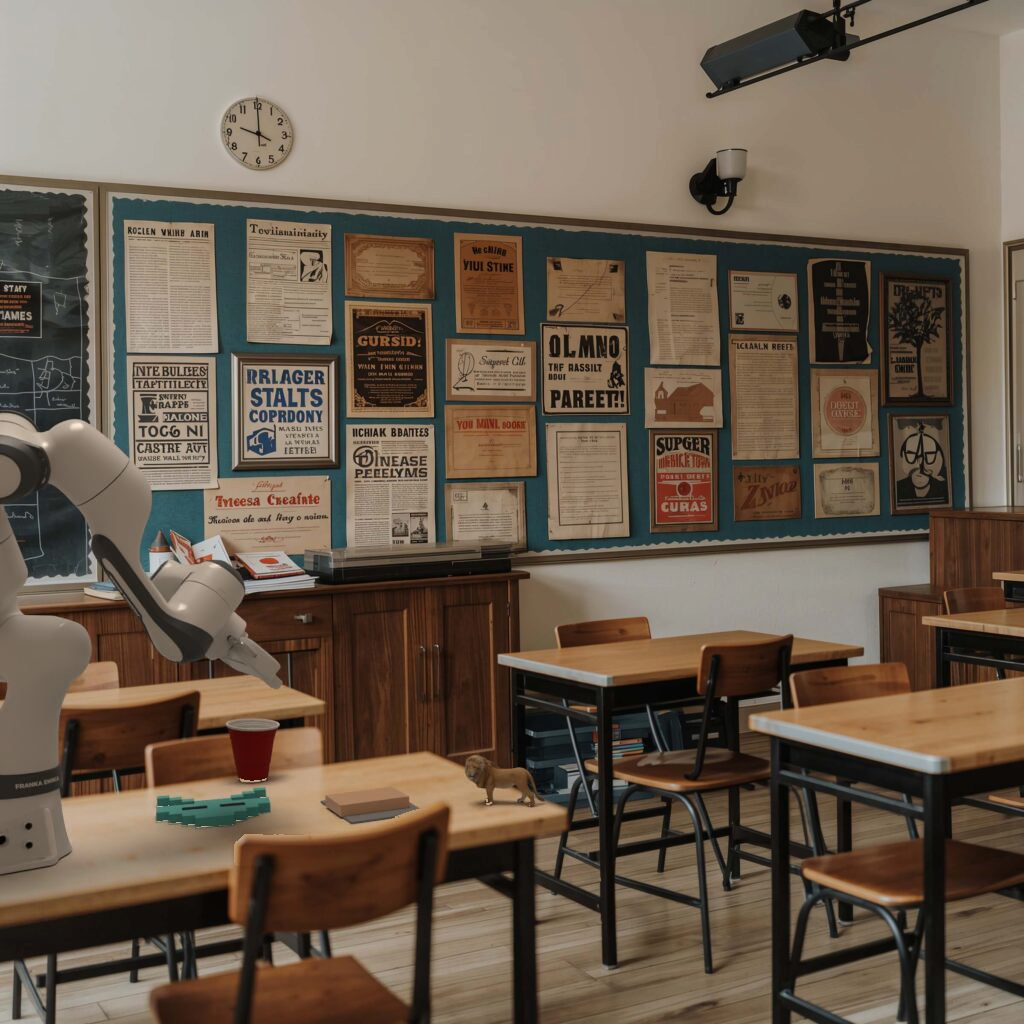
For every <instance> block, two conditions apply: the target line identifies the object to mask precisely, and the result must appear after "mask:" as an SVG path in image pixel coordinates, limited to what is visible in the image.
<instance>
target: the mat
mask: <svg viewBox="0 0 1024 1024" xmlns="http://www.w3.org/2000/svg"><path fill="white" fill-rule="evenodd" d="M320 803H321V804H322V805H324V806H325V807H326V802H325V799H324V800H320ZM419 808H420V807H418V806H417V805H415V804H413V803H411V802H410V801H409V807H408V808H400V809H393V810H386V811H379V812H372V813H364V814H357V815H350V816H343V817H341V819H343V820H345V821H346V822H348V823H349V824H350V825H355V824H361V823H368V822H375V821H383V820H388V819H387V818H391V817H395V816H398V815H401V814H403V813H406V812H409V811H412V810H416V809H419ZM391 819H392V818H391Z"/></svg>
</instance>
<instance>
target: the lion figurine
mask: <svg viewBox="0 0 1024 1024" xmlns="http://www.w3.org/2000/svg"><path fill="white" fill-rule="evenodd" d="M464 774H465V776H466V777H467V779H468V780H469V781H470V782H472V783H474V784H475V786H476V787H477V788H478V789H483V790H485V791H486V792H485V793H486V796H487V798H486V799H488V802H486V803H490V802H494V790H495V789H504V790H506V789H509V788H512V787H513V786H516V787H517V789H518V790H519V791H520V792H521V797H519V798H517V800H516V801H526V798H528V799H529V801H528V802H527V803H526V804H527V806H528V805H530V806H532V807H534V806H535V804H536V801H535V800H534V799H535V797H536V798H537V800H538V801H539V800H540V802H545V801H546V799H544V797H541V796H540V795H539V793H538V792H537V791H538V790H537V787H536V784H535V782H534V781H535V779H534V778H533V776H532V775H531V773H530V771H528V770H527V769H525V768H523V767H515V768H514V767H513V768H502V767H500V766H498V765H497V764H496V763H495V762H494V761H491V760H489V759H487V757H484V756H481V755H477V754H475V755H471V756H469V757H468V758H465V767H464ZM528 782H530V785H531V788H532V791H531V790H530V788H529V785H528V784H529V783H528ZM534 795H535V796H534Z"/></svg>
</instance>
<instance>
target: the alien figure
mask: <svg viewBox="0 0 1024 1024" xmlns="http://www.w3.org/2000/svg"><path fill="white" fill-rule="evenodd" d="M260 797H266V798H260ZM269 797H270V796H269ZM269 797H268V796H267V788H266V786H262V787H253V788H252V790H244V791H242V792H241V794H230V797H223V798H213V799H203V800H195V798H185V799H184V798H183V797H182V796H175V797H170V795H156V809H155V810H156V811H155V814H156V815H155V817H156V818H155V819H156V821H163V820H169V821H168V823H176V822H182V823H181V824H182V825H188V824H195V825H194V826H195V828H196V827H201V826H217V827H220V826H219V825H228V826H233V825H232V824H235V825H236V822H235V821H236V820H247V821H248V818H249V817H248V816H259V817H260V814H269V813H271V800H270V798H269ZM168 805H169V806H168ZM157 806H163V807H157ZM263 812H265V813H263ZM268 812H269V813H268ZM247 817H248V818H247ZM182 825H181V826H182Z"/></svg>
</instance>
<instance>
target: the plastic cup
mask: <svg viewBox="0 0 1024 1024" xmlns="http://www.w3.org/2000/svg"><path fill="white" fill-rule="evenodd" d="M280 725H281V724H280V723H279V722H278V721H275V720H273V719H266V718H237V719H232V720H228V721H226V722H225V726H226V727H227V731H228V734H229V739H230V742H231V743H230V744H231V750H232V754H233V755H232V757H233V761H234V765H235V769H236V774H237V778H241V779H244V780H250V781H254V780H262V779H265V778H267V777H269V773H270V766H271V761H272V756H273V748H274V743H275V738H276V733H277V730H278V728H279V727H280ZM267 779H268V778H267Z"/></svg>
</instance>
